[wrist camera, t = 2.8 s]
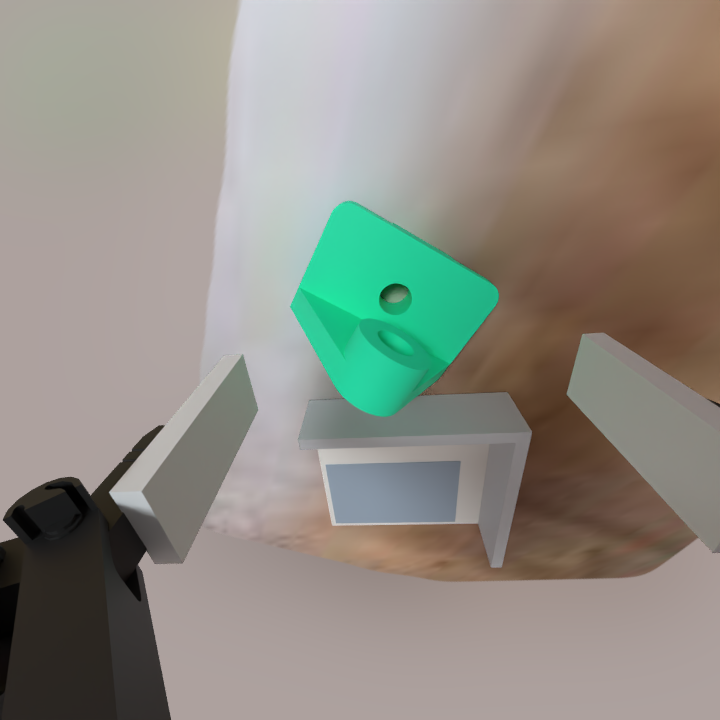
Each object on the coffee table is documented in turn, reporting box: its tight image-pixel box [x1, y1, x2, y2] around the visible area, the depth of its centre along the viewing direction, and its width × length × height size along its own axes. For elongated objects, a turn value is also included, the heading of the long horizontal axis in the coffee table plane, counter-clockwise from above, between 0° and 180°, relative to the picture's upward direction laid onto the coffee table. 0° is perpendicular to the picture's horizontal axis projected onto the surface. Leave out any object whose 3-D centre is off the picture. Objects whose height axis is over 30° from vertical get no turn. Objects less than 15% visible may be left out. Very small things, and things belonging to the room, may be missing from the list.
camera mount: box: [290, 201, 499, 417], centre depth 20 cm, size 12×8×10 cm, turn 62°
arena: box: [298, 392, 532, 567], centre depth 30 cm, size 17×17×5 cm
